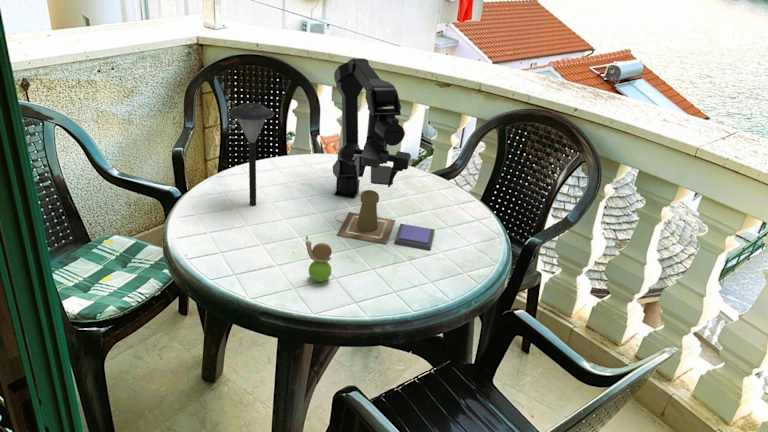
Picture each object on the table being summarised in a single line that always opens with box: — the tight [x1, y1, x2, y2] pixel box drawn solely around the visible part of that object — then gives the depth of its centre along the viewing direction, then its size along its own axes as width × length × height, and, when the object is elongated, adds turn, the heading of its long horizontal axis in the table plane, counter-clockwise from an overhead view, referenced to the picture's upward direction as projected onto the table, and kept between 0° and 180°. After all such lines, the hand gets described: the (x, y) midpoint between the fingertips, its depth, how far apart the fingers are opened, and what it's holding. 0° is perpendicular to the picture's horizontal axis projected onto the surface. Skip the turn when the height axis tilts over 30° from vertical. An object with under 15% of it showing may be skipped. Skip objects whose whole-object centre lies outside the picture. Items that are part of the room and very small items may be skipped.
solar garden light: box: [228, 102, 275, 207], centre depth 163 cm, size 12×12×30 cm
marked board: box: [336, 211, 396, 245], centre depth 164 cm, size 14×14×1 cm
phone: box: [370, 165, 394, 186], centre depth 198 cm, size 7×1×15 cm
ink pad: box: [393, 223, 436, 251], centre depth 161 cm, size 10×10×2 cm
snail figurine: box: [305, 235, 333, 283], centre depth 137 cm, size 5×6×12 cm
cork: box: [357, 189, 380, 232], centre depth 162 cm, size 6×6×11 cm
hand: (372, 184), depth 161 cm, fingers open, 9 cm apart
